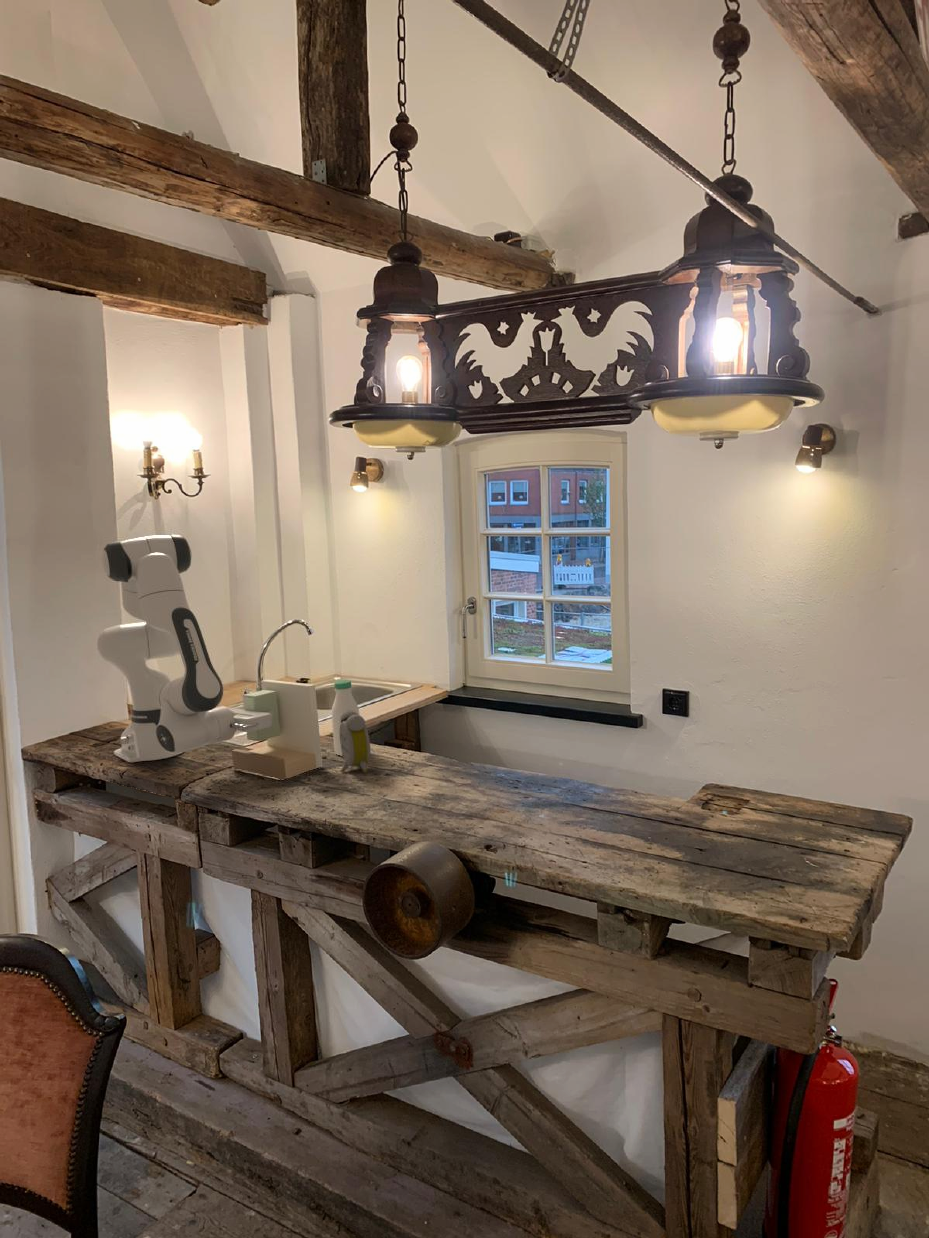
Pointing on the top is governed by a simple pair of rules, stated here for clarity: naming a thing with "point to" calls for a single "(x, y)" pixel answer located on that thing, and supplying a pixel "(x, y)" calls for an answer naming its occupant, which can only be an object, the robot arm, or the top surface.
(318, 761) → the wall board
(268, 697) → the cabinet
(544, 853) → the top surface
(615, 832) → the top surface
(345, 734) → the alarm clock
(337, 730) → the milk bottle
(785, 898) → the top surface
